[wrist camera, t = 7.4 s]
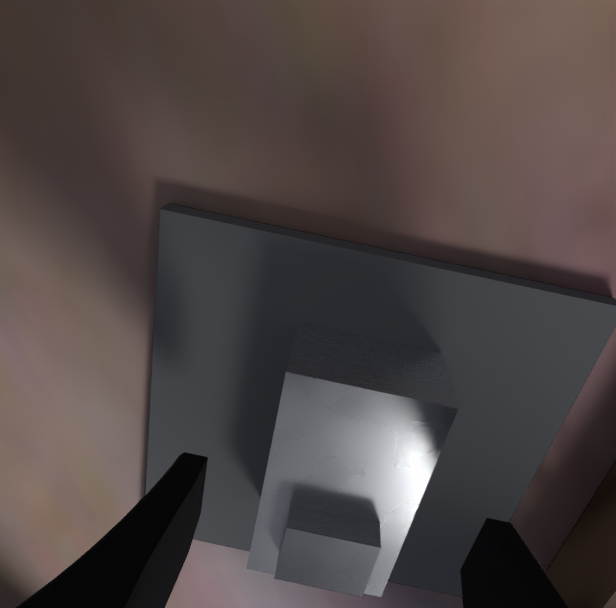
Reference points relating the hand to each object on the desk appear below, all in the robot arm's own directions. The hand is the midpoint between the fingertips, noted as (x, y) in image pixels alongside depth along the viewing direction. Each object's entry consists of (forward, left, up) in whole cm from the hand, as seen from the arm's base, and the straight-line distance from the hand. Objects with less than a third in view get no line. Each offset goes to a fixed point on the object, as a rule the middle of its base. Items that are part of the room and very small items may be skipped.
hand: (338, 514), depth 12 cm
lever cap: (0, 0, -3) cm, 3 cm away
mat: (0, 0, -3) cm, 3 cm away
